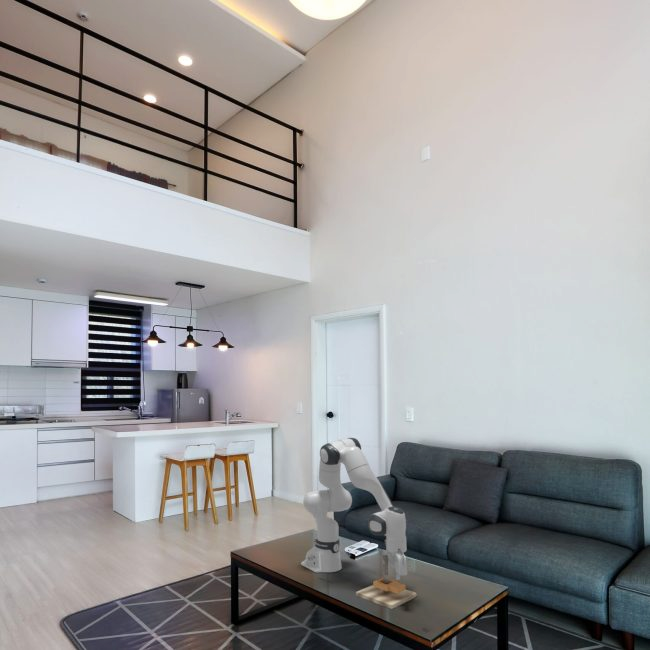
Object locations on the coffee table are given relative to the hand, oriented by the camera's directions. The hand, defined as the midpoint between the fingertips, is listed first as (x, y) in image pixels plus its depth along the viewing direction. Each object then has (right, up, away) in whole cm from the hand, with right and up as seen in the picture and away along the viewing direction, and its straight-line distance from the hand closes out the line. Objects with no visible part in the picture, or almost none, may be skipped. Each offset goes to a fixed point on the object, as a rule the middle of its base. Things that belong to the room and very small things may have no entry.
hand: (397, 578), depth 220 cm
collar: (-3, -5, +2) cm, 6 cm away
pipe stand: (-5, -9, +3) cm, 11 cm away
